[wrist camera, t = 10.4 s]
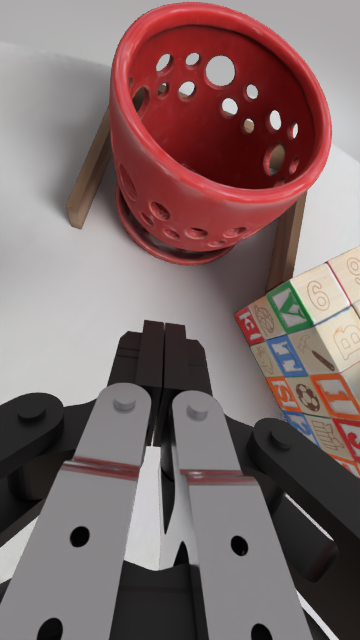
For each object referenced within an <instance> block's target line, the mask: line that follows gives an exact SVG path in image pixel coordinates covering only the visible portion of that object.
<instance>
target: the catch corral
mask: <svg viewBox="0 0 360 640" xmlns="http://www.w3.org/2000/svg"><path fill="white" fill-rule="evenodd" d="M165 89H166V86H164V85H162V84H161V85H160V87H159V88H158V91H157V95H158V96H159V95H161V94H162V93H163V92H164V91H165ZM178 94H179V95H180V96H182V97H187V96H188V95H186V94H183V93H181V92H178ZM143 100H144V89H143V87H141V88H140V89H139V90H138V91H137V92H136V94H135V96H134V97H133V99H132V102H133V105H134V108H135V110H136V112H137V113H138V111H139V110H140V108H141V106H142V104H143ZM223 111H224V110H223ZM224 112H225V113H226V114H227V115H230V116H231V115H233V114H231V113H228V112H226V111H224ZM244 127H245V130H246V131H247V132H249V133H251V132H252V131H253V129H254V123H252V122H250V121H247V120H245V123H244ZM284 153H285V152H284V149H283V147H282V146H281V145H279V146H277V147H276V148H275V149H274V150H273V152H272V154H271V157H270V160H269V167H272V168H274V169H277V170H279V169H280V168H281V166H282V163H283V160H284ZM111 154H112V146H111V134H110V110H109V106H108V108H107V111H106V113H105V115H104V118H103V120H102V122H101V125H100V127H99V129H98V132H97V134H96V136H95V139H94V141H93V143H92V146H91V148H90V150H89V153H88V155H87V157H86V160H85V162H84V164H83V167H82V169H81V171H80V174H79V176H78V178H77V181H76V183H75V185H74V188H73V190H72V192H71V195H70V197H69V199H68V202H67V204H66V208H67V211H68V215H69V218H70V222H71V226H72V227H75V228H78V229H82V226H83V224H84V221H85V219H86V216H87V214H88V211H89V209H90V206H91V204H92V201H93V199H94V196H95V194H96V191H97V189H98V186H99V184H100V181H101V179H102V176H103V174H104V171H105V169H106V166H107V164H108V161H109V159H110V156H111ZM297 166H298V165H297ZM296 169H297V167H296ZM295 171H296V170H295ZM306 195H307V191H306V192H305V193H304V194H303V195H302V196H301V197H300V198H299V199H298V200H297V201H296V202H295V203H294V204H293V205H292V206H290V207H289V208H288V209H287V210H286V211H285V212H284V213H283V214H282V215H280V219H279V224H278V229H277V234H276V239H275V244H274V250H273V255H272V260H271V265H270V270H269V275H268V280H267V285H266V290H265V292H266V293H268V292H270V291H272V290H273V289H275V288H277V287H278V286H280V285H281V284H283V283H285V282H286V281H288V280H290V279H292V277H293V271H294V266H295V260H296V254H297V248H298V242H299V236H300V230H301V225H302V219H303V213H304V207H305V201H306Z"/></svg>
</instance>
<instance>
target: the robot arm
mask: <svg viewBox="0 0 360 640" xmlns="http://www.w3.org/2000/svg"><path fill="white" fill-rule="evenodd" d="M153 431H154V435H153ZM152 436H153V446H155V447H161V458H160V463H159V467H158V489H159V513H160V537H161V545H160V558H159V570H158V571H153V570H149V569H146V568H144V567H141V566H138V565H136V564H133V563H130V562H128V561H125V560H124V556H125V550H126V545H127V539H128V533H129V528H130V522H131V517H132V511H133V505H134V500H135V494H136V489H137V483H138V477H139V472H140V468H141V466H142V464H143V462H144V456H145V451H146V446H151V442H152ZM286 493H287V494H288V495H289V496H290V497H291V498H292V499H293V500H294V501H295V502H296V503H297V504H298V505H299V506H300V507H301V508H302V509H303V510H304V511H305V512H306V513H307V514H308V515H310V516H311V517H312V518H313V519H314V520H315V521H316V522H317V523H318V524H319V525H320V526H321V527H322V528H323V529H324V530H325V531H326V532H327V533H328V534H329V535H330V536H331V537H332V539H333V540H334V541H333V540H331V539H329V538H328V537H327V536H326V535H324V534H323V533H322V532H321V531H320V530H319V529H318V528H317V527H316V526H315V525H314V524H313V523H312V522H311V521H310V520H309V519H308V518H307V517H306V516H305V515H304V514H303V513H302V512H301V511H300V510H299V509H298V508H297V507H296V506H295V505H294V504H293V503H292V502H291V501H290V500H289V499H288V498H287V497H285V495H286ZM37 516H39V517H38V520H37V522H36V524H35V527H34V529H33V531H32V533H31V536H30V538H29V540H28V543H27V545H26V547H25V549H24V552H23V554H22V556H21V558H20V561H19V563H18V565H17V568H16V570H15V572H14V574H13V577H12V578H11V579H9V580H7V581H5V582H3V583H1V584H0V640H330V639H329V638H328V636H327V635H326V634H325V633H324V631H323V630H322V629H321V628H320V626H319V625H318V624H317V623H316V622H315V620H314V619H313V618H312V617H311V616H310V615H309V614H308V613H307V612H306V611H305V610H304V609H303V608H302V607H301V604H300V601H299V598H298V595H297V592H296V590H297V591H298V592H299V593H300V594H301V596H302V597H303V598H304V599H305V600H306V601H307V603H308V604H309V605H310V606H311V607H312V608H313V610H314V611H315V612H316V613H317V614H318V615H319V617H320V618H321V619H322V620H323V621H324V622H325V624H326V625H327V626H328V627H329V628H330V630H331V631H332V632H333V633H334V634H335V635H336V637H337V638H338V639H339V640H360V479H359V478H358V477H356V476H355V475H354V474H352V473H351V472H350V471H349V470H347V469H346V468H345V467H344V466H342V465H341V464H340V463H339V462H337V461H336V460H335V459H333V458H332V457H331V456H330V455H328V454H327V453H326V452H325V451H323V450H322V449H321V448H320V447H318V446H317V445H316V444H314V443H313V442H312V441H311V440H309V439H308V438H307V437H306V436H304V435H303V434H302V433H301V432H299V431H298V430H297V429H295V428H294V427H293V426H291V425H290V424H288V423H286V422H284V421H282V420H279V419H275V418H264V419H261V420H259V421H258V422H257V423H256V424H255V425H254V427H252V426H249V425H246V424H244V423H241V422H238V421H236V420H234V419H232V418H230V417H228V416H227V415H225V414H224V413H223V409H222V407H221V405H220V404H219V402H218V401H217V400H216V399H215V398H213V395H212V390H211V384H210V379H209V373H208V368H207V362H206V356H205V351H204V348H203V347H202V346H201V344H200V343H199V342H198V341H197V340H192V339H186V331H185V325H179V324H172V323H165V326H164V322H157V321H149V320H144V326H143V333H138V332H131V331H128V332H127V333H125V334H124V335H123V336H122V337H121V338H120V340H119V344H118V348H117V351H116V355H115V359H114V362H113V366H112V370H111V373H110V377H109V381H108V384H107V387H106V388H105V389H103V390H102V391H101V393H100V394H99V396H98V398H96V399H95V400H93V401H90V402H88V403H85V404H80V405H73V406H66V407H63V404H62V402H61V401H60V400H59V399H58V398H57V397H55V396H53V395H51V394H47V393H29V394H25V395H21V396H19V397H16V398H14V399H12V400H10V401H8V402H6V403H4V404H2V405H0V547H2V546H3V545H4V544H5V543H6V542H8V541H9V540H10V539H11V538H12V537H14V536H15V535H16V534H17V533H18V532H20V531H21V530H22V529H23V528H24V527H25V526H27V525H28V524H29V523H30V522H31V521H33V520H34V519H35V518H36V517H37ZM295 588H296V589H295Z"/></svg>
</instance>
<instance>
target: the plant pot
mask: <svg viewBox="0 0 360 640" xmlns="http://www.w3.org/2000/svg"><path fill="white" fill-rule="evenodd" d="M191 53H197V54H199V60H198V61H197V62H196V63H195V64H194V65H187V64H186V58H187V56H188V55H190V54H191ZM165 54H170V59H169V62H168V64H167V66H166V67H165V68H163V69H162V70H161V71H156V65H157V63H158V61H159V60H160V58H161V57H162V56H163V55H165ZM220 55H221V56H226V57H228V58H229V59H230V60H231V61H232V62H233V64H234V69H235V76H234V79H233V80H232V82H231V83H229V84H228V85H224V86H217V85H214V84H212V83H211V82H210V81H209V79H208V78H207V76H206V66H207V64H208V62H209V61H210V60H211V59H212V58H213V57H215V56H220ZM187 81H190V82H193V83H194V85H195V88H194V91H193V92H192V94H191V95H189V96H187V97H182V96H180V95H179V94H178V91H179V88H180V87H181V85H182V84H183V83H185V82H187ZM163 83H166V89H165V91H164V92H163V93H162V94H161V95H159V96H158V95H157V91H158V88H159V87H160V85H161V84H163ZM250 84H252V85H254V86H256V88H257V90H258V96H257V98H255V99H252V98H250V97H249V96H248V95H247V87H248V85H250ZM141 87H143V89H144V100H143V104H142V106H141V108H140V110H139V111H138V113H137V112H136V110H135V108H134V105H133V102H132V99H133V97H134V96H135V94H136V92H137V91H138V90H139V89H140V88H141ZM226 98H231V99H233V100H234V101H235V102H236V104H237V107H238V111H237V113H236V114H235V115H231V116H230V115H227V114H226V113H225V112H224V111H223V108H222V103H223V101H224V100H225V99H226ZM109 110H110V134H111V146H112V153H113V159H114V164H115V170H116V175H117V184H116V205H117V209H118V213H119V216H120V219H121V221H122V223H123V225H124V227H125V229H126V230H127V232H128V233H129V235H130V236H131V237H132V238H133V240H134V241H135V242H136V243H137V244H138V245H140V246H141V247H142V248H143V249H144V250H146V251H147V252H148V253H150V254H152V255H153V256H155V257H157V258H159V259H162V260H164V261H167V262H170V263H174V264H180V265H200V264H205V263H209V262H212V261H214V260H216V259H218V258H220V257H222V256H224V255H225V254H226V253H228V252H229V251H230V250H231V249H232V248H233V247H234V246H235V245H236V244H237V243H239V242H241V241H243V240H245V239H247V238H249V237H250V236H252V235H254V234H255V233H257V232H258V231H259V230H261V229H262V228H264V227H265V226H266V225H268V224H269V223H271V222H272V221H273V220H275V219H277V218H278V217H279V216H280V215H282V214H283V213H284V212H285V211H286V210H287V209H288V208H289V207H290V206H292V205H293V204H294V203H295V202H296V201H297V200H298V199H299V198H300V197H301V196H302V195H303V194H304V193H305V192H306V191H307V190H308V189H309V188H310V187H311V186H312V185H313V183H314V182H315V181H316V180H317V179H318V177H319V175H320V174H321V172H322V171H323V169H324V167H325V164H326V162H327V159H328V156H329V151H330V147H331V139H332V125H331V117H330V113H329V108H328V104H327V101H326V98H325V96H324V93H323V91H322V89H321V87H320V84H319V82H318V80H317V79H316V77H315V75H314V74H313V72H312V71H311V69H310V68H309V66H308V65H307V64H306V62H305V61H304V60H303V59H302V58H301V56H300V55H299V54H298V53H297V52H296V51H295V50H294V49H293V48H292V47H291V46H290V45H289V44H288V43H287V42H286V41H284V39H282V38H281V37H280V36H279V35H278V34H276V33H275V32H274V31H272V30H271V29H270V28H268V27H267V26H265V25H263V24H262V23H260V22H259V21H257V20H255V19H253V18H251V17H249V16H248V15H245V14H243V13H240V12H238V11H235V10H231V9H229V8H227V7H223V6H219V5H215V4H208V3H200V2H183V3H175V4H168V5H163V6H160V7H158V8H155V9H152V10H150V11H148V12H147V13H145V14H143V15H142V16H141V17H139V18H138V19H137V20H135V21H134V23H133V24H132V25H131V26H130V27H129V28H128V30H127V31H126V32H125V34H124V35H123V37H122V39H121V40H120V42H119V44H118V47H117V49H116V53H115V55H114V59H113V63H112V69H111V81H110V100H109ZM274 110H276V111H277V112H279V115H280V119H281V127H280V128H279V130H275V129H274V128H273V127H272V126H271V123H270V115H271V112H272V111H274ZM246 119H251V120H252V121H253V123H254V129H253V131H252V132H251V133H249V132H247V131H246V130H245V127H244V123H245V120H246ZM296 123H297V125H298V133H297V135H296V137H295V138H294V137H293V128H294V125H295V124H296ZM279 145H281V146H282V147H283V149H284V152H285V153H284V160H283V163H282V166H281V168H280V169H279V171H278V172H277V173H276V174H274V175H271V174H270V171H269V160H270V157H271V154H272V152H273V150H274V149H275V148H276V147H277V146H279ZM297 165H298V166H297ZM296 167H297V169H296ZM295 170H296V171H295Z"/></svg>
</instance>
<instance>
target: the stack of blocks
mask: <svg viewBox="0 0 360 640" xmlns="http://www.w3.org/2000/svg"><path fill="white" fill-rule="evenodd" d="M234 316H235V318H236V320H237V322H238V324H239V326H240V327H241V329H242V331H243V333H244V335H245V337H246V339H247V341H248V343H249V344H250V349H251V351H252V353H253V355H254V357H255V359H256V361H257V362H258V364H259V366H260V368H261V370H262V372H263V374H264V376H265V377H266V380H267V382H268V384H269V386H270V388H271V390H272V392H273V394H274V396H275V398H276V400H277V402H278V404H279V406H280V408H281V409H282V410H283V412H284V414H285V416H286V418H287V420H288V422H289V424H290V425H291V426H293V427H294V428H295V429H297V430H298V431H299V432H301V433H302V434H303V435H304V436H306V437H307V438H308V439H309V440H311V441H312V442H313V443H314V444H316V445H317V446H318V447H320V448H321V449H322V450H323V451H325V452H326V453H327V454H328V455H330V456H331V457H332V458H333V459H335V460H336V461H337V462H339V463H340V464H341V465H342V466H344V467H345V468H346V469H347V470H349V471H350V472H351V473H352V474H354V475H355V476H356V477H358V478H359V479H360V246H358V247H356V248H354V249H351V250H349V251H347V252H345V253H343V254H341V255H339V256H337V257H335V258H332V259H330V260H328V261H326V262H325V263H323V264H321V265H319V266H317V267H315V268H313V269H311V270H308V271H306V272H304V273H302V274H300V275H298V276H296V277H294V278H292V279H290V280H288V281H286V282H285V283H283V284H281V285H280V286H278V287H277V288H275V289H273V290H272V291H270V292H268V293H267V294H266V295H265V296H263V297H261V298H259V299H258V300H256V301H254V302H252V303H251V304H249V305H248V306H247V307H245V308H243V309H241V310H239V311H238V312H236V313H235V314H234Z"/></svg>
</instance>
